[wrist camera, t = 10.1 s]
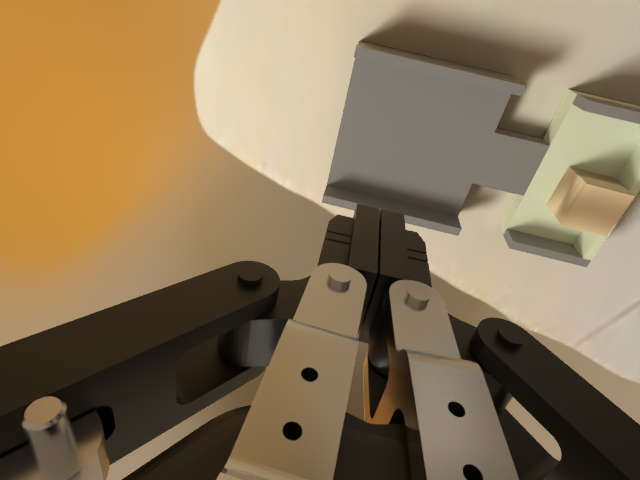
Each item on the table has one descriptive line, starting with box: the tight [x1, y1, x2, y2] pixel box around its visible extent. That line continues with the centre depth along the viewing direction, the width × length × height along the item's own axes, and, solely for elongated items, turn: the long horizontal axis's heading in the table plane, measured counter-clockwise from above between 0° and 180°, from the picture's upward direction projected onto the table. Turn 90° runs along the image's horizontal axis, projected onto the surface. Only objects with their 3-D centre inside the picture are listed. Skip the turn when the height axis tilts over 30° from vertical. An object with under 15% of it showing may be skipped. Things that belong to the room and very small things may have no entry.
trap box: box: [322, 41, 640, 267], centre depth 37 cm, size 14×26×4 cm, turn 79°
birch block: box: [546, 166, 635, 236], centre depth 35 cm, size 4×4×4 cm
